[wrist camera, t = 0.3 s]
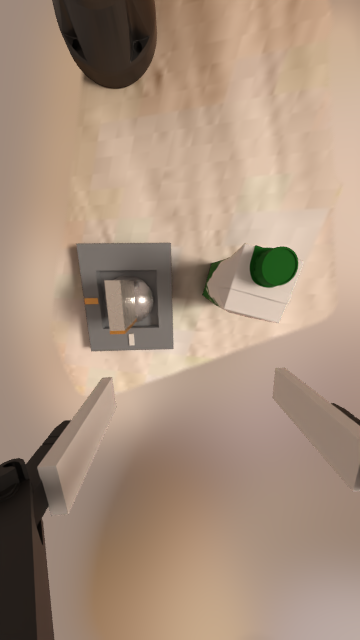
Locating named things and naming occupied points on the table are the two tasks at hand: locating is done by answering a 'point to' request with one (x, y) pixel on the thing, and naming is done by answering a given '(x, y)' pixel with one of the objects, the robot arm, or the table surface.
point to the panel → (127, 261)
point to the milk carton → (254, 282)
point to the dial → (127, 302)
